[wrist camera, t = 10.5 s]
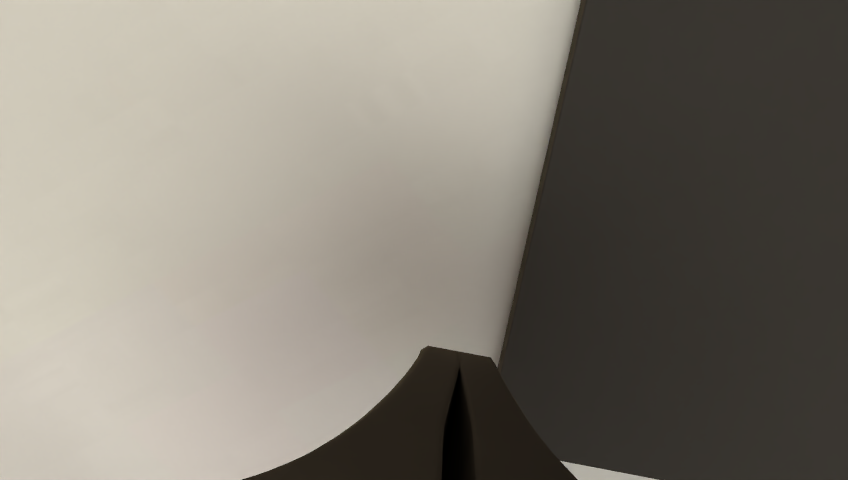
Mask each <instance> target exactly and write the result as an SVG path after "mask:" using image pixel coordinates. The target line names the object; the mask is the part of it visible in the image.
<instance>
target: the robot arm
mask: <svg viewBox="0 0 848 480" xmlns="http://www.w3.org/2000/svg"><path fill="white" fill-rule="evenodd" d="M242 480H577V479H576V478H575V477H574V475H573V474H572V473H571V472H570V471H569V470H568V469H567V468H566V467H565V466H564V465H563V464H562V463H561V462H560V461H559V460H558V458H557V457H556V456H555V455H554V454H553V453H552V451H551V450H550V449H549V448H548V447H547V445H546V444H545V443H544V441H543V440H542V439H541V438H540V436H539V435H538V434H537V432H536V431H535V430H534V428H533V427H532V425H531V424H530V423H529V421H528V419H527V418H526V416H525V415H524V413H523V412H522V410H521V409H520V407H519V406H518V404H517V402H516V401H515V399H514V398H513V396H512V394H511V392H510V391H509V389H508V387H507V385H506V384H505V382H504V380H503V378H502V376H501V375H500V373H499V371H498V369H497V367H496V365H495V363H494V362H493V360H492V359H491V358H490V357H485V356H480V355H474V354H469V353H464V352H458V351H453V350H448V349H442V348H437V347H432V346H427V347H425V348H423V349H422V350H421V351H420V354H419V356H418V358H417V359H416V361H415V362H414V364H413V365H412V367H411V368H410V369H409V371H408V372H407V373H406V374H405V376H404V377H403V378H402V379H401V380H400V381H399V382H398V384H397V385H396V386H395V387H394V388H393V389H392V390H391V391H390V392H389V393H388V394H387V395H386V396H385V397H384V398H383V399H382V400H381V401H380V402H379V403H378V404H377V405H376V406H375V407H374V408H373V409H371V410H370V411H369V412H368V413H367V414H366V415H365V416H363V417H362V418H361V419H360V420H359V421H357V422H356V423H355V424H353V425H352V426H351V427H349V428H348V429H347V430H345V431H344V432H342V433H341V434H340V435H338V436H337V437H335V438H334V439H332V440H330V441H329V442H327V443H325V444H324V445H322V446H321V447H319V448H317V449H316V450H314V451H312V452H310V453H308V454H306V455H304V456H302V457H300V458H298V459H296V460H294V461H291V462H289V463H287V464H285V465H282V466H280V467H277V468H275V469H272V470H270V471H267V472H264V473H261V474H259V475H256V476H252V477H249V478H246V479H242Z"/></svg>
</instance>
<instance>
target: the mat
mask: <svg viewBox="0 0 848 480" xmlns="http://www.w3.org/2000/svg"><path fill="white" fill-rule="evenodd" d="M498 371H499V373H500V375H501V376H502V378H503V380H504V382H505V384H506V385H507V387H508V389H509V391H510V392H511V394H512V396H513V398H514V399H515V401H516V402H517V404H518V406H519V407H520V409H521V410H522V412H523V413H524V415H525V416H526V418H527V419H528V421H529V423H530V424H531V425H532V427H533V428H534V430H535V431H536V432H537V434H538V435H539V436H540V438H541V439H542V440H543V441H544V443H545V444H546V445H547V447H548V448H549V449H550V450H551V451H552V453H553V454H554V455H555V456H556V457H557V458H558V460H559V461H565V462H570V463H575V464H580V465H586V466H591V467H596V468H601V469H607V470H612V471H617V472H622V473H628V474H633V475H638V476H643V477H648V478H654V479H659V480H848V0H581V4H580V8H579V13H578V17H577V22H576V26H575V30H574V35H573V39H572V44H571V48H570V52H569V57H568V61H567V66H566V70H565V74H564V79H563V83H562V88H561V92H560V96H559V101H558V105H557V109H556V114H555V118H554V123H553V127H552V131H551V136H550V140H549V145H548V149H547V153H546V158H545V162H544V167H543V171H542V175H541V180H540V184H539V189H538V193H537V197H536V202H535V206H534V211H533V215H532V219H531V224H530V228H529V232H528V237H527V241H526V246H525V250H524V254H523V259H522V263H521V268H520V272H519V276H518V281H517V285H516V290H515V294H514V298H513V303H512V307H511V312H510V316H509V320H508V325H507V329H506V334H505V338H504V342H503V347H502V351H501V356H500V360H499V364H498Z"/></svg>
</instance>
